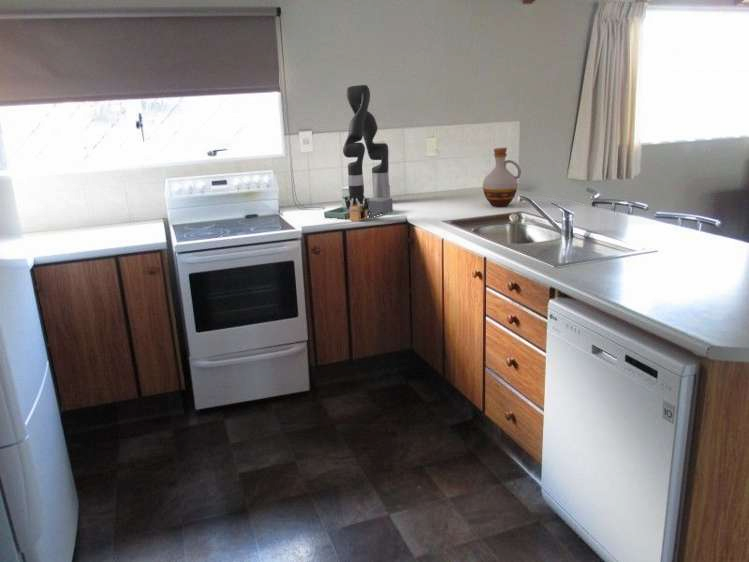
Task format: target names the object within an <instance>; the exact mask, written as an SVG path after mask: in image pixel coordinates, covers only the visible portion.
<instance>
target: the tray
mask: <svg viewBox="0 0 749 562" xmlns="http://www.w3.org/2000/svg"><path fill="white" fill-rule="evenodd" d="M349 210H350V209H347V207H342V206H340V207H336V208H333V209H331V210H327V211H326V210H325V211H324V212H323V216H324V217H325V218H324V219H332V218H337V219H336V220H344V219H345V220H347V218H348V219H350V211H349Z"/></svg>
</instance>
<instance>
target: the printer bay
mask: <svg viewBox="0 0 749 562" xmlns="http://www.w3.org/2000/svg"><path fill="white" fill-rule="evenodd" d="M393 207H394V206H393V197H392V198H391V197H390V198H380V197H376V198H373V197H372V198H369V206H368V209H367V214H368V219H369V218H371V219H373V218H372V217H374V216H377V215H380V214H384V215H386V214H385V213H387V214H389V213H388V212H390V213H392V212H391V211H393V209H394V208H393ZM369 213H370V214H369ZM380 216H381V215H380ZM377 217H378V216H377ZM374 218H375V217H374Z"/></svg>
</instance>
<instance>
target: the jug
mask: <svg viewBox="0 0 749 562" xmlns="http://www.w3.org/2000/svg"><path fill="white" fill-rule="evenodd" d="M507 149H508V148H507V147H496V148H493V151H494V153H493V156H494V159H495V167H494V168H493V169H492V171H490V172H489V173H488V174H487V175H486V176H485V177H484V179H483V182H482V190H483V195H484V196H485V199H486V200H487V201H488V203H489V204H490V205H491V206H492V207H494V208H504V207H508V206H509V205H510V203H511V202H512V201H513V200H514V198H515V196H516V193H517V191H518V180H517V179H520V177H521V175H522V169H521V167H520V165H519V164H518V163H517V162H516V161H514V160H511V159H507V160H506V157H507V155H508V153H507ZM509 163H510V164H512V165H514V166H515V167H516V169H517V175H514V174H512V173H511V172H510V171H509V170H508V169H507V164H509Z"/></svg>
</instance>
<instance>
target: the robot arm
mask: <svg viewBox="0 0 749 562" xmlns="http://www.w3.org/2000/svg"><path fill="white" fill-rule="evenodd" d="M346 99H347V101H348V104H349V105H350V108H351V110H352V112H353V114H354V115H353V117H352V118H351V120H350V122H349V126H348V127H349V128H348V132H347V133H348V135H347V137H346V140H345V142H344V145H343V147H342V153H343V156H344V157H346V158H357V159H356V161H352V162H349V163H348V164H347V174H348V177H347V182H348V183H347V184H348V185H347V186H349V194H350V195H349V197H345V198H344V199H345V203H346V207H347V209H349V207H351V206H355V205H356V204H357V205H358V206H359V207H360V210H361V211H360V212H361V219H363V218H364V217H365V210H367V209H368V206H369V199H370V198H369V197H365V195H364V194H365V183H364V182H365V181H364V177H363V176H364V174H363V162H364V156H365V154H366V153H365V152H366V150H367V155H368V157H369V159H370V160H372V161H381V162H380V163H379V164H378V165H376V166H373V167H372V168H371V176H372V177H371V178H372V194H373V196H372V198H376V197H380V198H391V186H390V179H389V178H390V176H389V175H390V174H389V172H390V171H389V146H388V144H387V142H376V143H375V142H374V141H373V140H374V138H375V136H376V134H377V132H378V123H377V121H376V118H375V116H374V115H373V113H371V112H370V111H368V109H369V105H370V100H371V92H370V88H369V86H368V85H366V84H360V85H351V86H349V87H347V88H346ZM362 140H364V143H365V145H364V143H362V142H360V141H362ZM350 200H351V203H350Z"/></svg>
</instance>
